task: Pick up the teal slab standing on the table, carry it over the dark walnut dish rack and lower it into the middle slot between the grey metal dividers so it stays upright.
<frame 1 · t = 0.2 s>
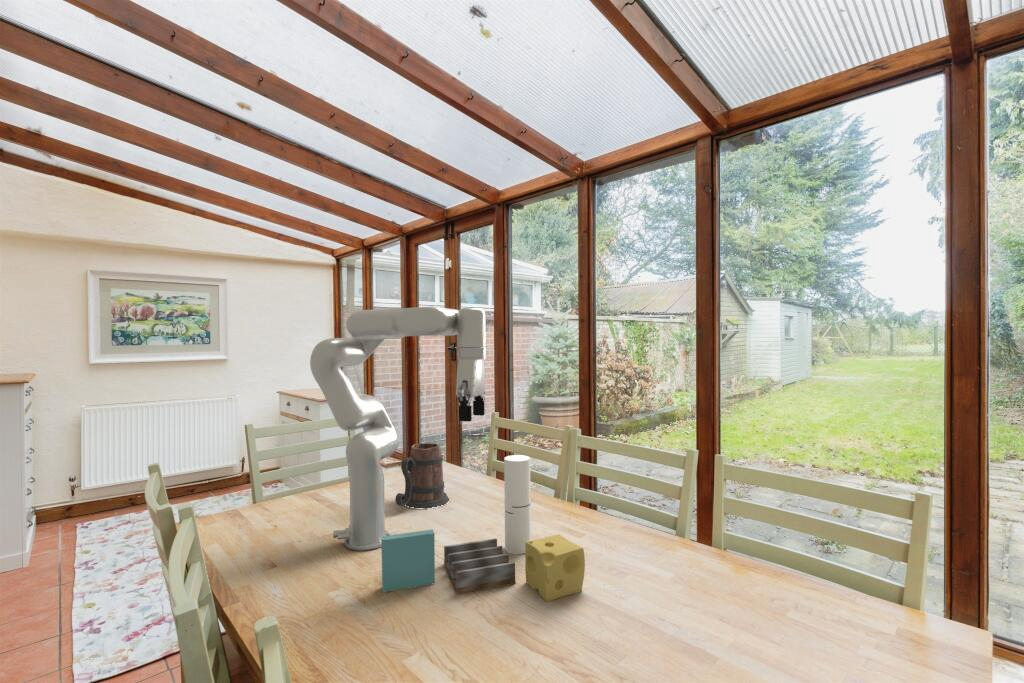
hand: (472, 418, 130), 37 cm above the table, tool pointing down, fingers open, 9 cm apart
cylindrical container: (517, 549, 134), on the table
tankard: (420, 504, 171), on the table
rack: (478, 573, 120), on the table
teal slab: (408, 585, 114), on the table
cheese: (553, 587, 113), on the table
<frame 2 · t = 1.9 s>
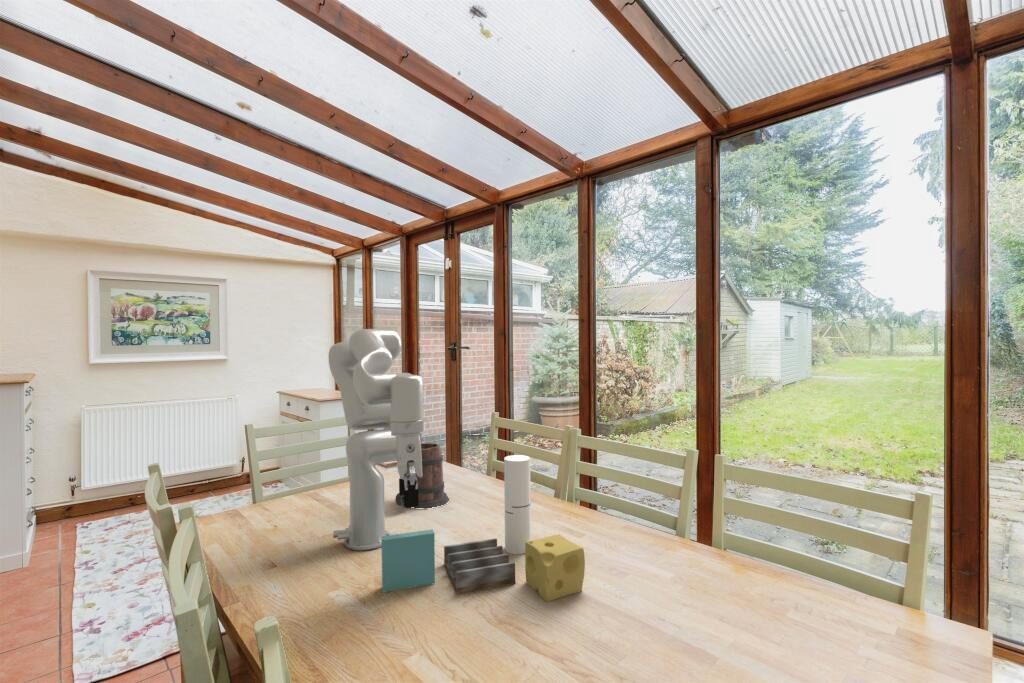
hand: (408, 500, 114), 20 cm above the table, tool pointing down, fingers open, 9 cm apart
nothing on the table moved.
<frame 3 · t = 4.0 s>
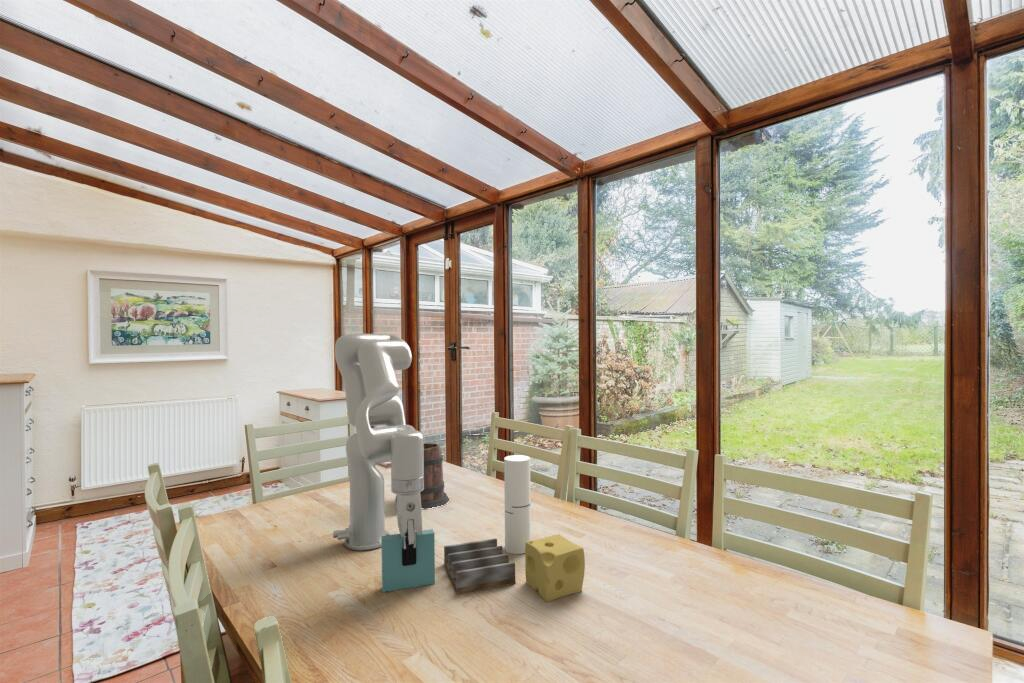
hand: (408, 561, 114), 6 cm above the table, tool pointing down, fingers closed on teal slab, 2 cm apart
teal slab: (408, 585, 114), on the table, touching gripper
everything else where it was.
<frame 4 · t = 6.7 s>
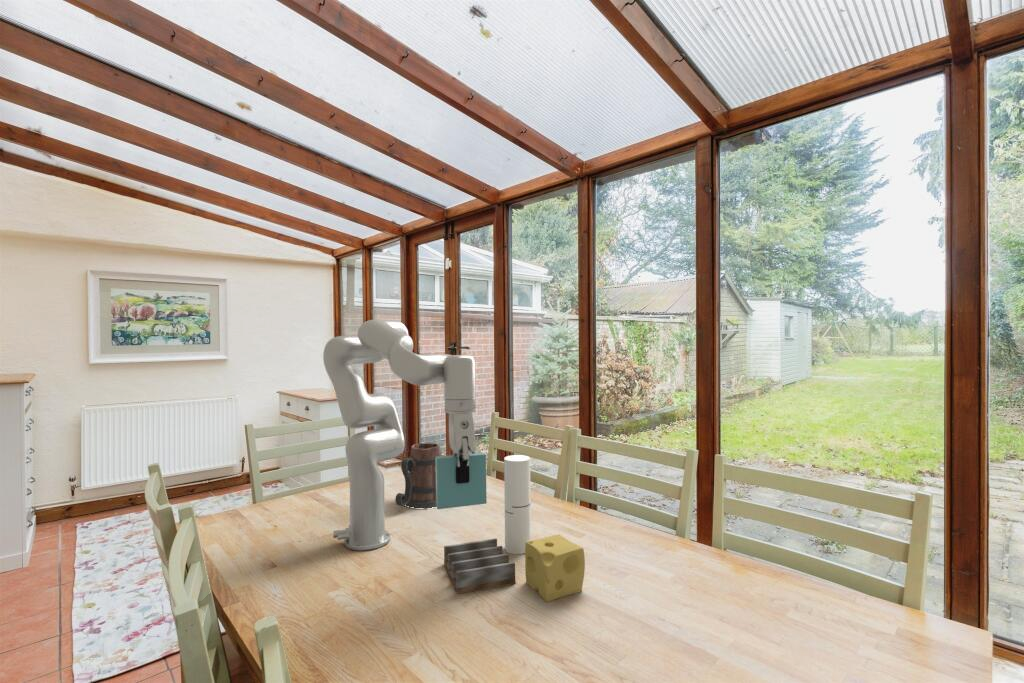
hand: (461, 480, 118), 23 cm above the table, tool pointing down, fingers closed on teal slab, 2 cm apart
teal slab: (461, 504, 118), point 18 cm above the table, touching gripper
everything else where it was.
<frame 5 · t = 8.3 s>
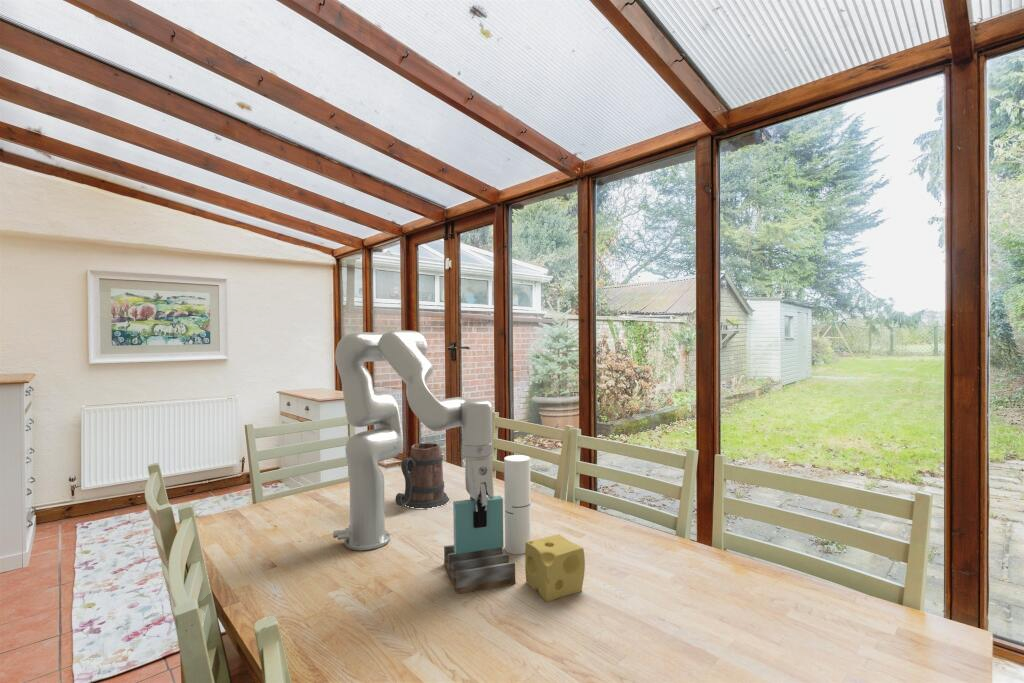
hand: (478, 524, 119), 12 cm above the table, tool pointing down, fingers closed on teal slab, 2 cm apart
teal slab: (478, 548, 119), point 6 cm above the table, touching gripper
everything else where it was.
when the fingers open (8 cm above the table, at t = 9.4 s): teal slab stays where it is, resting on rack.
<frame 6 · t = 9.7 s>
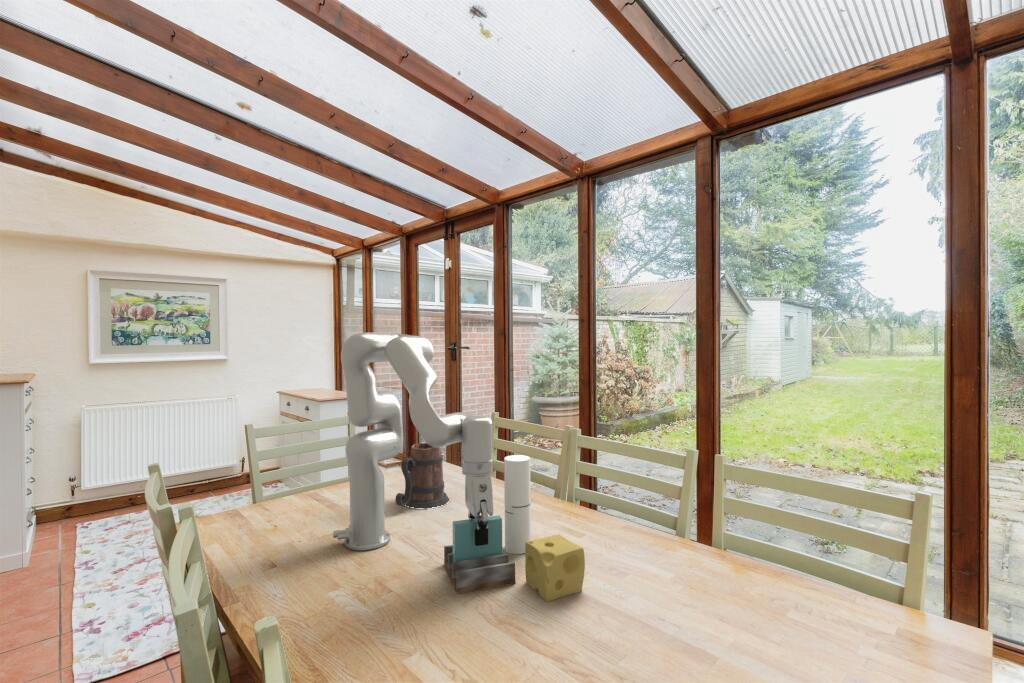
hand: (478, 538, 120), 9 cm above the table, tool pointing down, fingers open, 5 cm apart
teal slab: (477, 568, 120), point 1 cm above the table, touching rack
everything else where it was.
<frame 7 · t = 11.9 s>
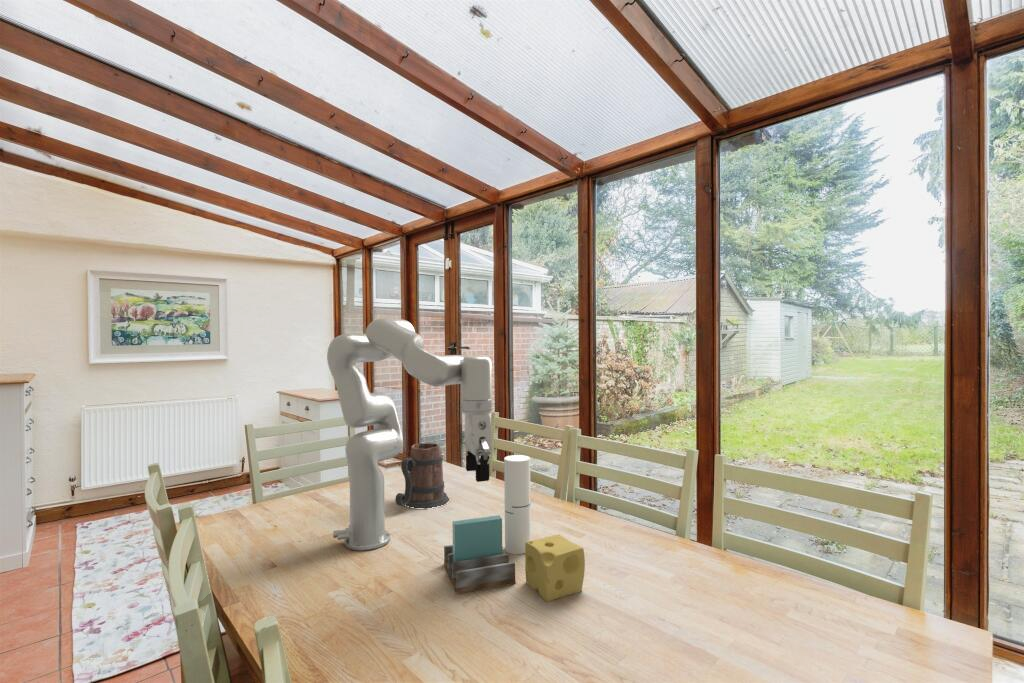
hand: (477, 475, 120), 24 cm above the table, tool pointing down, fingers open, 9 cm apart
nothing on the table moved.
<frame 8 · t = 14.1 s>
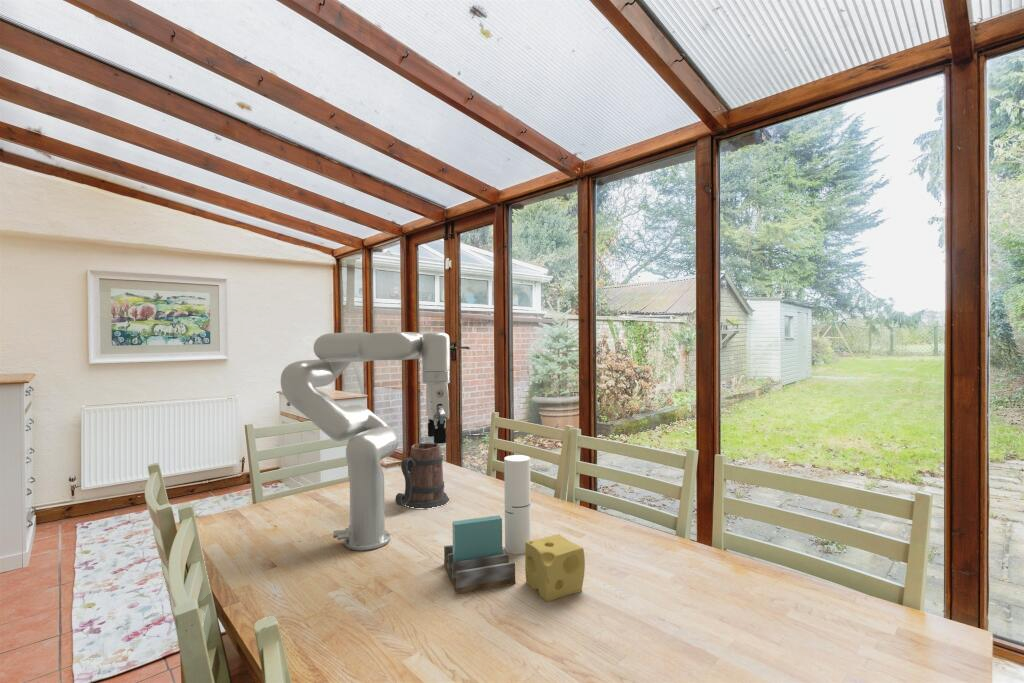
hand: (436, 439, 133), 30 cm above the table, tool pointing down, fingers open, 9 cm apart
nothing on the table moved.
at the end: teal slab 0.1 cm off-centre on the rack, point 1.2 cm above the rack's base; teal slab tilted 0°; the gripper is holding nothing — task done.
